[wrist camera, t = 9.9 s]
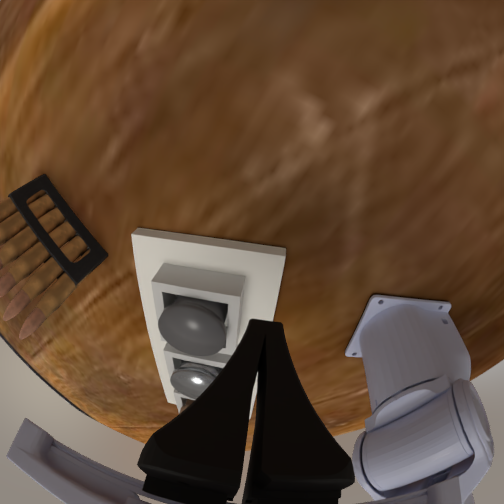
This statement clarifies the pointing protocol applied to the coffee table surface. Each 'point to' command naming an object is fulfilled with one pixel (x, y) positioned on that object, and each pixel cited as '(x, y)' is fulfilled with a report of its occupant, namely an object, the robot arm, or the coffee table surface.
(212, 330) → the knob graphite
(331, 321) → the coffee table surface
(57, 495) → the robot arm
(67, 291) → the ammunition clip
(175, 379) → the knob steel
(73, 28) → the coffee table surface
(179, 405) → the mount board
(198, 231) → the coffee table surface
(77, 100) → the coffee table surface
